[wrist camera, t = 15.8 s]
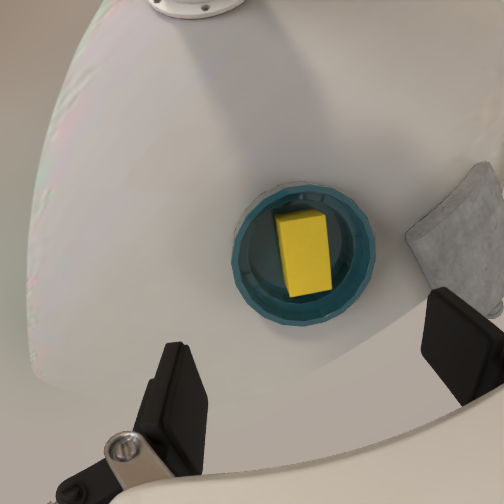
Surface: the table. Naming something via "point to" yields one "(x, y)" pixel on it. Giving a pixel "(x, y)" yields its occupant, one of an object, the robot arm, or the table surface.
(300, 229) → the sponge
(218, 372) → the table surface
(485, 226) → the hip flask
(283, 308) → the bowl
